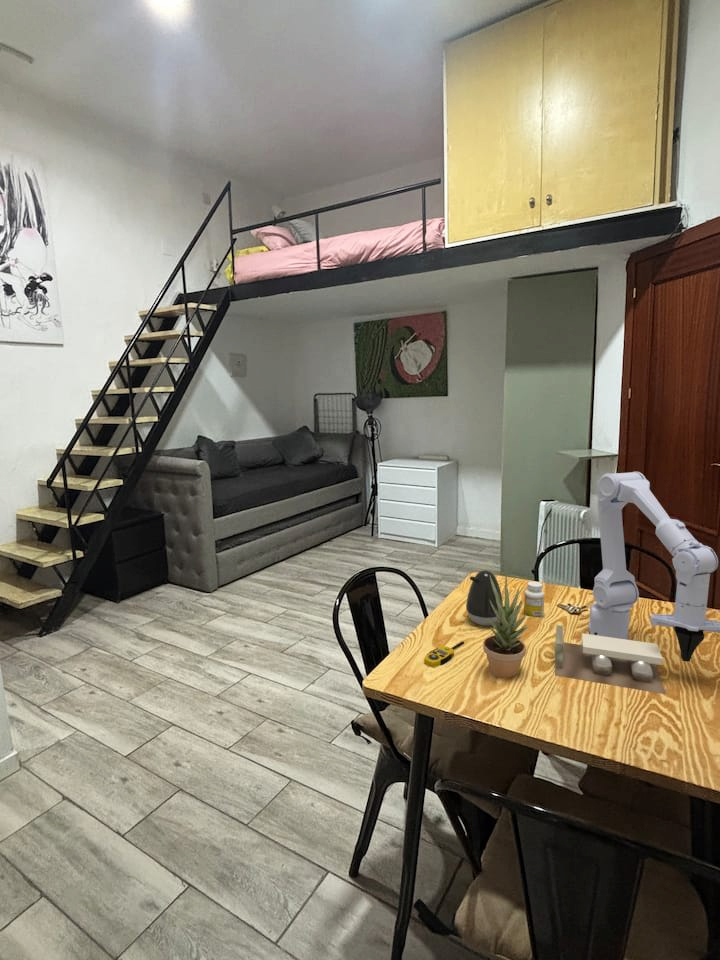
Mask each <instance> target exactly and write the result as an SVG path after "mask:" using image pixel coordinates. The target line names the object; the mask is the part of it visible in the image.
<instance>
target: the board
mask: <svg viewBox="0 0 720 960" xmlns="http://www.w3.org/2000/svg"><path fill="white" fill-rule="evenodd" d="M555 629H556V630H555V643H554V646H555V647H554V648H555V649H554V651H555V652H554V676H556V677H563V678H567V679H574V680H580V681H586V682H590V683H591V682H592V683H597V684H603V685H609V686H615V687H621V688H628V689H632V690H638V691H645V692H650V693H656V694H662V695H667V693H666V690H665V686H664V685H663V682H662V679H661V676H660V673H659V670H658V667H657V664H653V663H650V666H651V669H652V672H653V677H652V679H651V680H649V681H647V682H640V681H638V680H636V679H635V678H634V677H633V674H632V670H631V667H630V663H629V660H627V659H620V658H614V657H610V658H611V664H612V671H611V673H610V674H608V675H599V674H597V673H596V672H595V671H594V669H593V665H592V657H591V654H588V653H583V650H582V644H577V643H570V642H564V626H563V625H559V624H557V625H556V627H555Z"/></svg>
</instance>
